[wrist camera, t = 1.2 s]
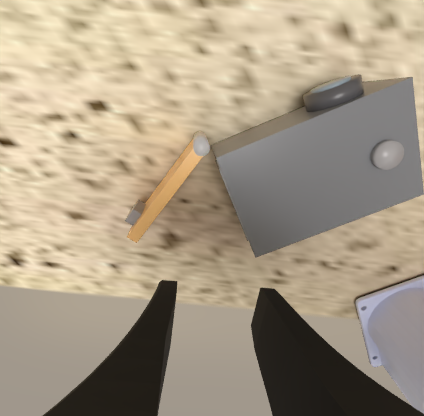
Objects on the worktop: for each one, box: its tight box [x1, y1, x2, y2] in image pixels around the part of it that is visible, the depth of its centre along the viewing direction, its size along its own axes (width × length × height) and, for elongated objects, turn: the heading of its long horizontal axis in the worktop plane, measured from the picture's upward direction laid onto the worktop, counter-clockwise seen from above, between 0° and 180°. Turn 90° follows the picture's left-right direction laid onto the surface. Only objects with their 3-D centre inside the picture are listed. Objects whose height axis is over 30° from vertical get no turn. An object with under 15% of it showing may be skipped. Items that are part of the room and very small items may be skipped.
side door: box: [125, 131, 210, 243], centre depth 18 cm, size 8×1×4 cm, turn 142°
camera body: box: [211, 75, 424, 257], centre depth 18 cm, size 8×11×5 cm
